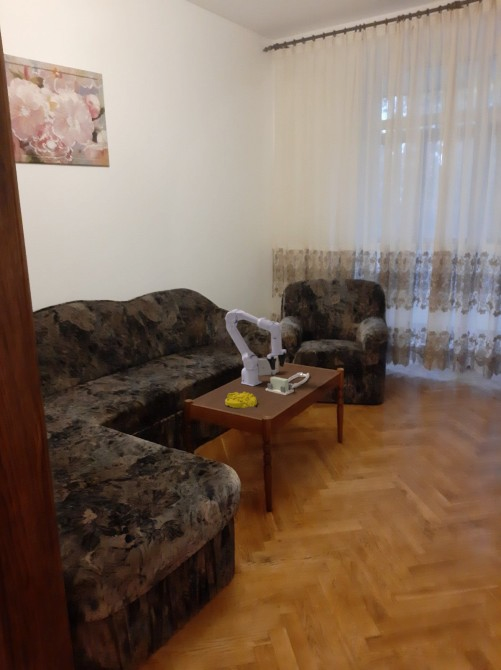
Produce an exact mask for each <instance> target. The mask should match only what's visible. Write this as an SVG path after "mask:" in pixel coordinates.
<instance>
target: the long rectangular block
mask: <svg viewBox="0 0 501 670" xmlns="http://www.w3.org/2000/svg"><path fill="white" fill-rule="evenodd" d="M269 379H270V381H269V382H270V384H272V389H276V390H280V391H281V386H283V387H285V392H286V391H288V390H289V386H288V383H289V382H288V379H289V378H283V377H278V376H271V377H270V378H269Z"/></svg>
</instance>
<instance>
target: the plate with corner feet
mask: <svg viewBox="0 0 501 670" xmlns="http://www.w3.org/2000/svg"><path fill="white" fill-rule="evenodd" d="M288 386H289V390H288V391H286V392H285V387H283V386H281V391H280V390H276V389H272V384H271V383H269V382H268V383H267V387H266V388H265V391H266V392H271V393H274V394H278V395H284V396H287V395H289V394H292V393H294V392H295V391H294V388H293V389H291V383H290V384H288Z"/></svg>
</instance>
